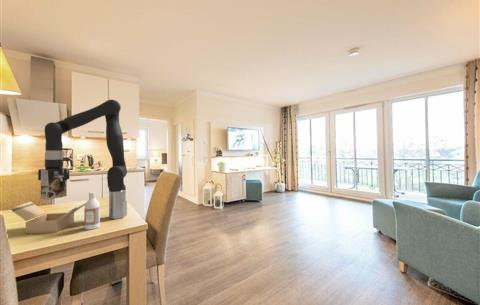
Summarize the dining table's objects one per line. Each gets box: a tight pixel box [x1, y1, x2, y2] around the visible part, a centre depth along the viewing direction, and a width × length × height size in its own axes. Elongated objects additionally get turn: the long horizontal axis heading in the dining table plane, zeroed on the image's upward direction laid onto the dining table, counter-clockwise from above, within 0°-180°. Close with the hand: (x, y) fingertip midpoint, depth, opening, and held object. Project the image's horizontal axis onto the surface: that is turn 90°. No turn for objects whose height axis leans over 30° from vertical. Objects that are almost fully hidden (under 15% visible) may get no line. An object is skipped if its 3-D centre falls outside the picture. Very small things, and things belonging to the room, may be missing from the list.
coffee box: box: [40, 169, 68, 201], centre depth 111 cm, size 9×6×16 cm
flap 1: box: [9, 201, 47, 222], centre depth 109 cm, size 1×12×10 cm
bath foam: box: [83, 191, 101, 231], centre depth 111 cm, size 7×7×20 cm
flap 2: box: [59, 202, 86, 219], centre depth 112 cm, size 1×12×10 cm
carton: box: [25, 212, 75, 235], centre depth 111 cm, size 14×14×6 cm
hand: (53, 187), depth 111 cm, fingers closed on coffee box, 7 cm apart
